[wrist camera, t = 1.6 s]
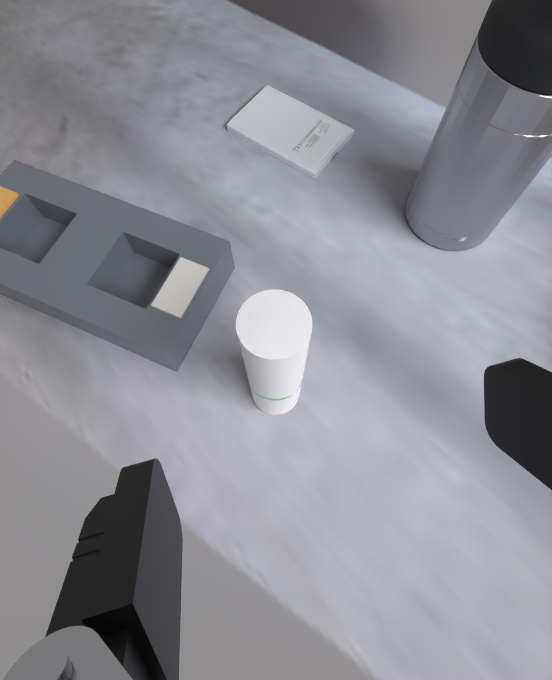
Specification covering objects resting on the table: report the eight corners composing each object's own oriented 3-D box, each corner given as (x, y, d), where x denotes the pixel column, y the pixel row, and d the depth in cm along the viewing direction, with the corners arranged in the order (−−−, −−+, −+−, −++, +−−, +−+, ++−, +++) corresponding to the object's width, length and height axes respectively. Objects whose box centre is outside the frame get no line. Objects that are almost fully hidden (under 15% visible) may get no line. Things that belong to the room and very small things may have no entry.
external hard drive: (268, 95, 52) (353, 138, 49) (227, 135, 49) (313, 183, 46) (268, 83, 50) (355, 127, 47) (225, 123, 48) (315, 172, 45)
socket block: (-33, 278, 41) (-71, 251, 37) (38, 191, 45) (12, 157, 41) (176, 371, 38) (163, 353, 33) (234, 267, 42) (229, 239, 37)
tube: (241, 389, 37) (220, 320, 23) (277, 359, 38) (277, 276, 24) (273, 424, 36) (270, 375, 22) (309, 392, 37) (328, 326, 23)
